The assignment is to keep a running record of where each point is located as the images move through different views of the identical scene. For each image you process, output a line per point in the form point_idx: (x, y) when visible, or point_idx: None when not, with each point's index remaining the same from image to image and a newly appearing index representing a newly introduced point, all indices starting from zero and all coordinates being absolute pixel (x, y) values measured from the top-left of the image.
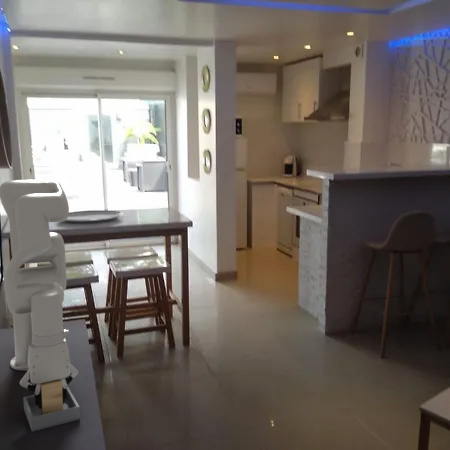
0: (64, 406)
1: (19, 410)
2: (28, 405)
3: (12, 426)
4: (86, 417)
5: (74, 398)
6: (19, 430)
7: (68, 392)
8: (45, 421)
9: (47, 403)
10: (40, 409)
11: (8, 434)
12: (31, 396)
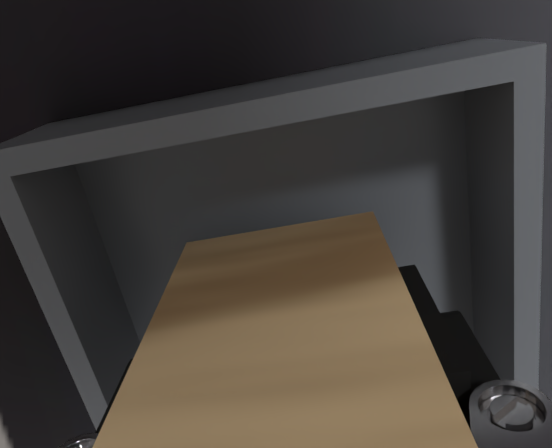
0: (412, 226)
1: (11, 124)
2: (77, 348)
3: (23, 348)
4: (538, 389)
5: (536, 350)
6: (84, 404)
7: (510, 180)
8: None
9: None
10: (200, 214)
11: (24, 424)
12: (69, 162)
